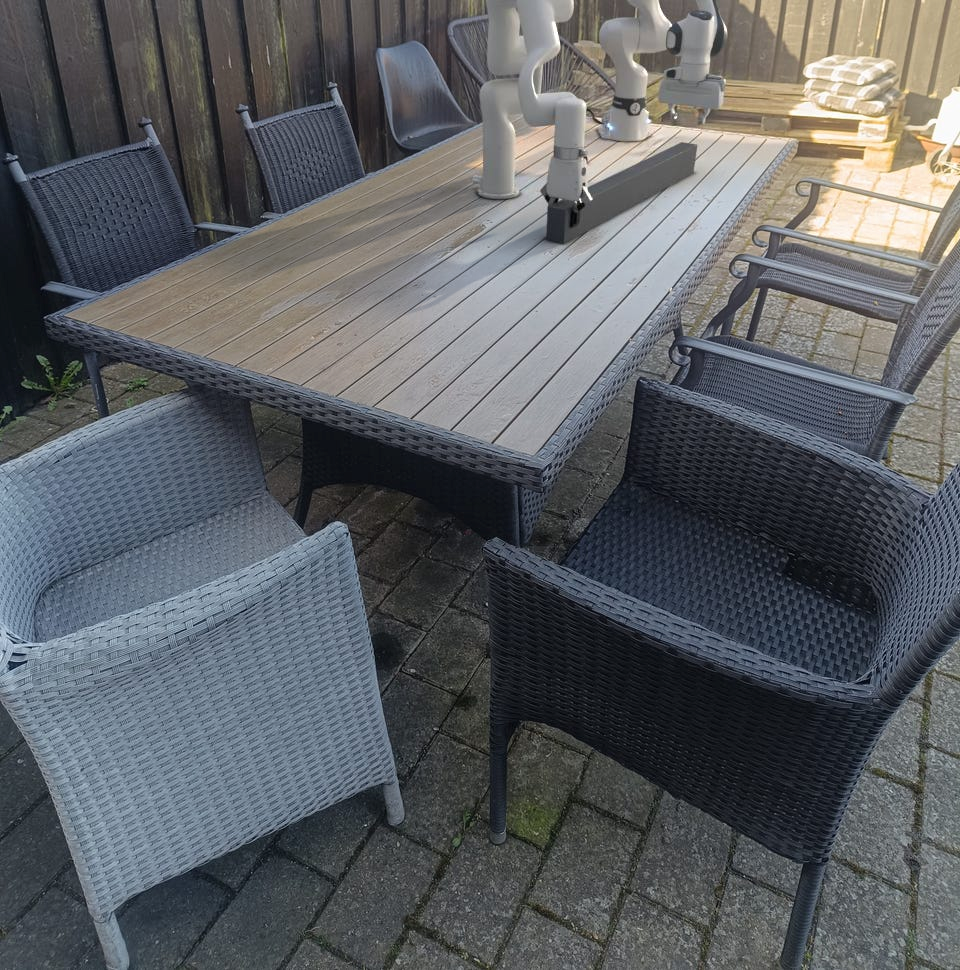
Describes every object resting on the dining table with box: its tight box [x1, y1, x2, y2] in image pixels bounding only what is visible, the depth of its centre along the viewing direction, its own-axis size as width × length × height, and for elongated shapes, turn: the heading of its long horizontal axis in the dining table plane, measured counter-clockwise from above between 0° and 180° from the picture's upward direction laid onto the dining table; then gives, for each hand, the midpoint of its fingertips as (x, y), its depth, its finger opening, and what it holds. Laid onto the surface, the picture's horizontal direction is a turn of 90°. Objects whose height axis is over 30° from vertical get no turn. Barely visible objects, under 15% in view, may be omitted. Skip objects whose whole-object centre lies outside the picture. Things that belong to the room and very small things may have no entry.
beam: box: [545, 141, 698, 245], centre depth 246 cm, size 81×6×9 cm, turn 144°
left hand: (564, 223), depth 222 cm, fingers closed on beam, 5 cm apart
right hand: (687, 121), depth 262 cm, fingers open, 8 cm apart
